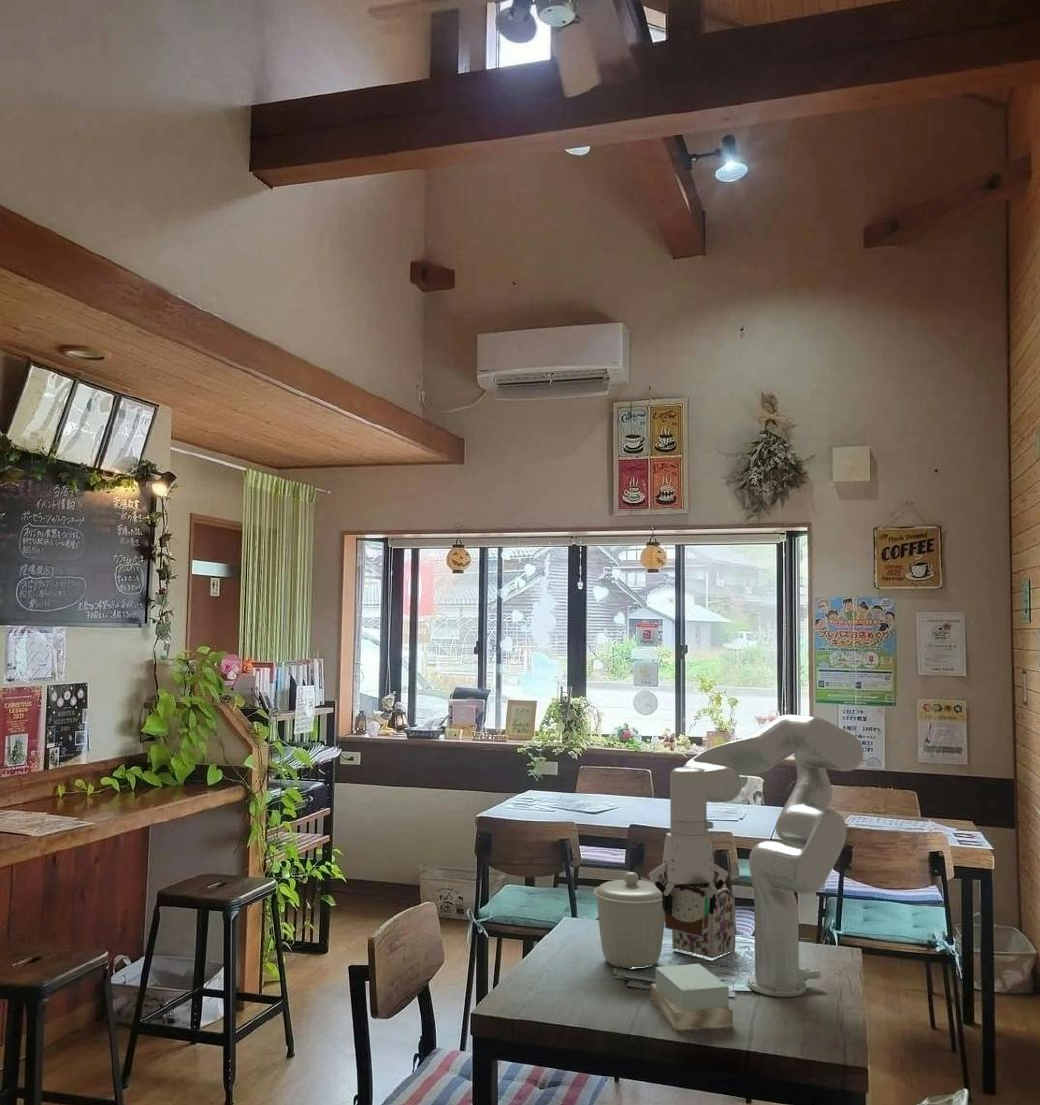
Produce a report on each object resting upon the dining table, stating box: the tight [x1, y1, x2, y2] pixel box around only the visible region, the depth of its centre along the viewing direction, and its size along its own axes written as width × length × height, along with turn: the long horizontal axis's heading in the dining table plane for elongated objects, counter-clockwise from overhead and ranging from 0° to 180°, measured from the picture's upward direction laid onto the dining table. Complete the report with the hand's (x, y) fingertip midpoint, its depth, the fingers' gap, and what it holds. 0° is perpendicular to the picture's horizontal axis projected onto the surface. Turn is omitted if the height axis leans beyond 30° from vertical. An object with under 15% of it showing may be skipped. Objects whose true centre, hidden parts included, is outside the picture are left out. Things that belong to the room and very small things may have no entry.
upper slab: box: [655, 963, 730, 1011], centre depth 203 cm, size 10×14×4 cm
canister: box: [593, 871, 665, 969], centre depth 235 cm, size 18×18×21 cm
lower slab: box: [650, 983, 734, 1031], centre depth 203 cm, size 12×16×4 cm
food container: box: [659, 877, 713, 938], centre depth 205 cm, size 12×6×10 cm, turn 45°
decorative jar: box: [671, 881, 736, 958], centre depth 243 cm, size 12×12×18 cm
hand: (688, 912), depth 204 cm, fingers closed on food container, 8 cm apart
